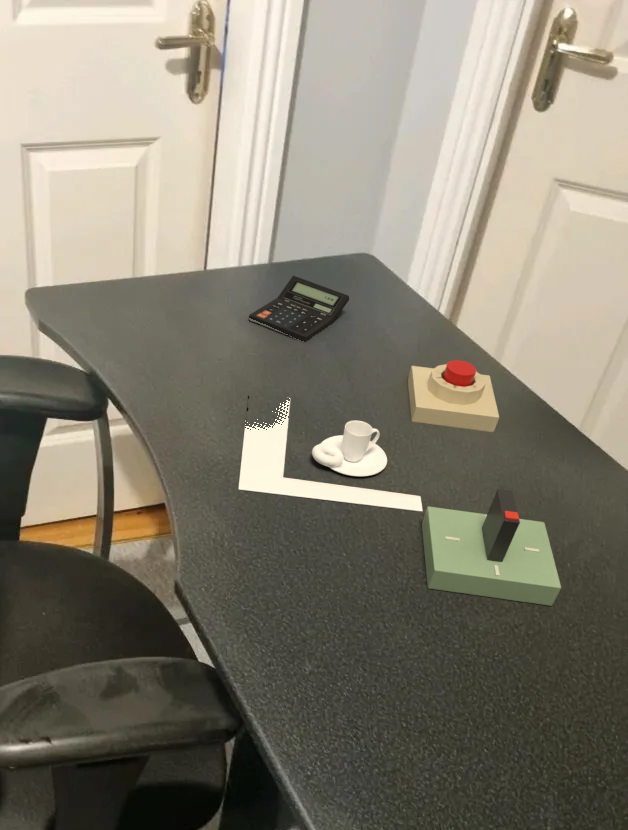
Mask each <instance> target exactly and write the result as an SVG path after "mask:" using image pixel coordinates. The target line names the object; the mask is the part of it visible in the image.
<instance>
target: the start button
mask: <svg viewBox="0 0 628 830" xmlns="http://www.w3.org/2000/svg"><path fill="white" fill-rule="evenodd" d="M446 364H447V365H446V369H445V372H444V375H443V379H444V380H445V381H446V382H447V383H450V384H452V385H455V386H461V387H467V386H471V385H472V383H473V380H474V377H475V374H476V371H477V368H476V367H475V366H474V365H473V364H472V363H470V362H468V361H465V360H450V361H448V362H447V363H446Z"/></svg>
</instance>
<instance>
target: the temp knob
mask: <svg viewBox="0 0 628 830" xmlns="http://www.w3.org/2000/svg"><path fill="white" fill-rule="evenodd" d="M519 519H520V516H519V512H518V508H517V502H516V500H515V494H514V490H510V489H503V488H497V489H496V492H495V494H494V496H493V499H492V502H491V504H490V507H489V509H488V511H487V516H486V519H485V521H484V524H483V526H482V532H483V537H484V543H485V549H486V555H487V560H492V561H499V562H503V559H504V557H505V555H506V553H507V551H508V548H509V546H510V544H511V542H512V539H513V537H514V535H515V533H516V530H517V528H518V526H519V524H520V521H519Z"/></svg>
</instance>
